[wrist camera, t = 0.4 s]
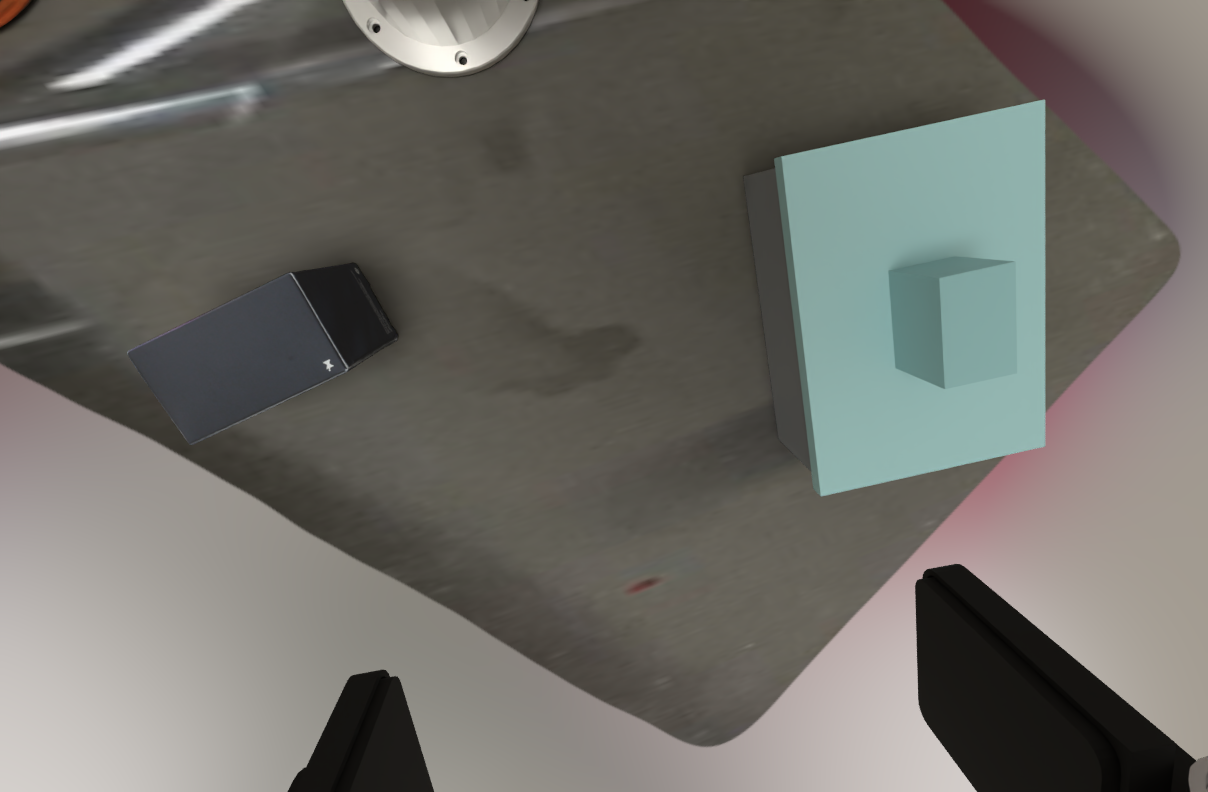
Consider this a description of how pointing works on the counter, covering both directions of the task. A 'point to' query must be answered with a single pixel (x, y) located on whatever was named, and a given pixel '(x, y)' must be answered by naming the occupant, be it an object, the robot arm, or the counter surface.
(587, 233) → the counter surface
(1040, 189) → the lid
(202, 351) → the small box
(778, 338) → the tub
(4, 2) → the beer stein
